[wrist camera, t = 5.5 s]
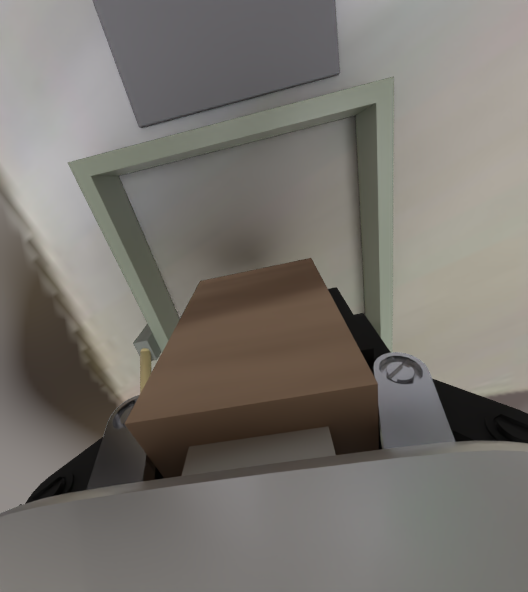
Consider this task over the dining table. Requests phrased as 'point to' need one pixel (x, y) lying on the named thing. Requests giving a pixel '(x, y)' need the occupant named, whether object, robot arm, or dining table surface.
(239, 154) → the dining table surface
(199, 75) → the mat
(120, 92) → the dining table surface
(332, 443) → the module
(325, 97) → the case
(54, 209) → the dining table surface
